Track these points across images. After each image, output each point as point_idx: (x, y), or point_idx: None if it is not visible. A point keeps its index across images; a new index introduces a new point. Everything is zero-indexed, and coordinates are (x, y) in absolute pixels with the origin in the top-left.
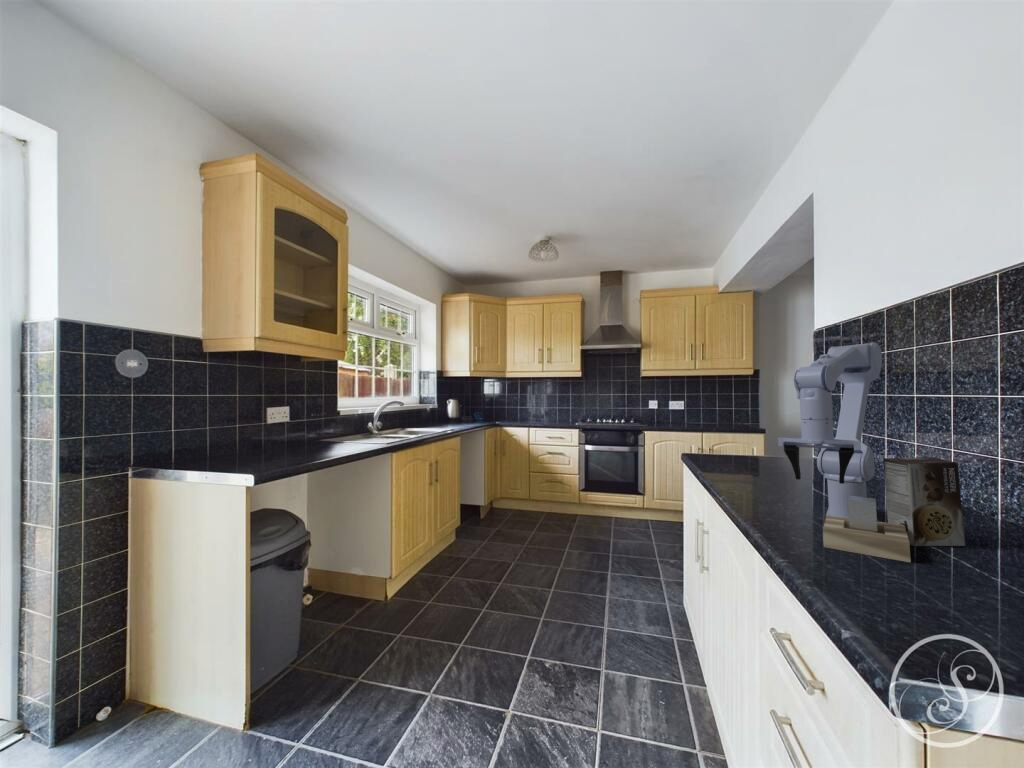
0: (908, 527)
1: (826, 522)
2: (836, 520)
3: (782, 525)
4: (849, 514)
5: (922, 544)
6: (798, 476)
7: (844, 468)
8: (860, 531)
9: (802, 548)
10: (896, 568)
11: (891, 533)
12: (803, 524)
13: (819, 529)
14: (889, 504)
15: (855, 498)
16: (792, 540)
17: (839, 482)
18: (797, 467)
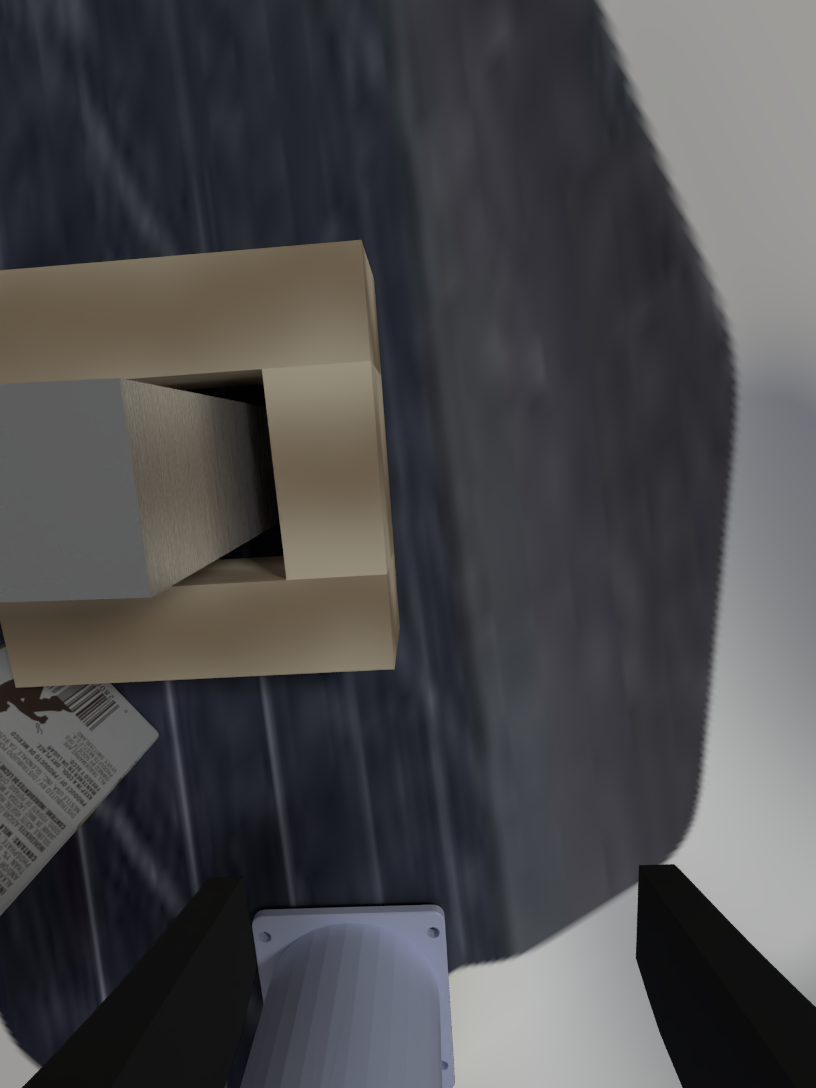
0: (4, 680)
1: (367, 449)
2: (325, 552)
3: (620, 595)
4: (187, 394)
5: None
6: (668, 892)
7: (52, 1081)
8: (166, 346)
9: (463, 167)
10: (49, 148)
11: None
12: (524, 692)
13: (440, 642)
14: (18, 846)
15: (77, 485)
16: (532, 302)
17: (237, 886)
18: (754, 1018)
